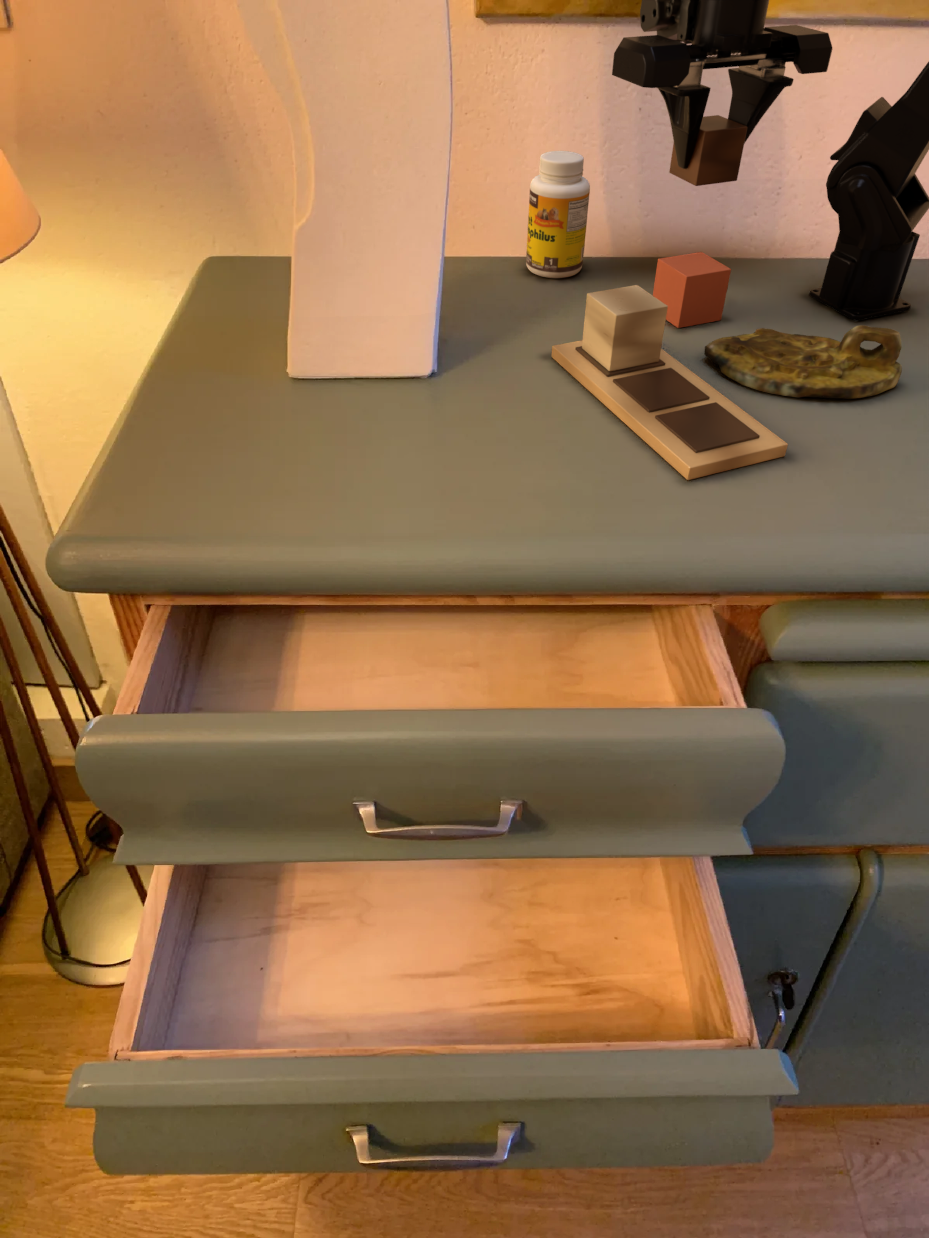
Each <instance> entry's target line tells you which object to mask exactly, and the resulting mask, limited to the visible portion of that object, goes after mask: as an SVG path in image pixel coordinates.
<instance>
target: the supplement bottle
mask: <svg viewBox="0 0 929 1238" xmlns="http://www.w3.org/2000/svg"><path fill="white" fill-rule="evenodd" d="M539 158H540V159H539V167H538V174H537V175H535V176H534V177H533V178H532V179H531V181H530V185H529V196H528V197H529V198H528V199H529V200H528V214H527V234H526V235H527V237H526V254H525V257H526V258H525V264H526V267H527V269H528V270H529V271H530V272H531V273H532V274H533V275H534V274H535V275H537V276H539V277H543V278H549V279H565V278H569V277H573V276H575V275H577V274H578V273H579V272H580V271H581V270H582V268H583V265H584V254H585V246H586V245H585V244H586V236H587V225H588V213H589V203H590V195H591V184H590V182H589V180H588V179H587V177H584V176H583V175H584V159H585V158H584V156H583V155H582V154H580V153H578V152H575V151H569V150H552V151H551V150H550V151H546V152H544V153H542V154H541V155H540V157H539Z"/></svg>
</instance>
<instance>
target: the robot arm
mask: <svg viewBox="0 0 929 1238" xmlns="http://www.w3.org/2000/svg"><path fill="white" fill-rule="evenodd" d="M769 3H770V0H641V5H640V11H639V17H640V19H639V21H640V29H641V30H642V32H643V33H649V32H656V34H652V35H640V36H638V35H637V36H626V37H623V38H622V39H621V41H620V42H619V44H618V45H617V47H616V49H615V50H614V52H613V61H612V69H611V76H613V77H616V78H619V79H621V80H623V81H626V82H628V83H631V84H634V85H636V86H638V87H641V88H646V89H658V91H659V93H660V95H661V97H662V99H663V100H664V103H665V106H666V109H667V114H668V117H669V121H670V127H671V134H672V139H673V144H674V145H675V151H676V157H677V163H678V166H679V167H680V168H683V169H687V168H688V166H689V163H690V160H691V158H692V155H693V152H694V149H695V145H696V141H697V138H698V134H699V130H700V126H701V123H702V119H703V117H704V115H705V111H706V108H707V104H708V100H709V96H710V92H711V87H710V86H707V85H704V84H703V83H702V79H703V78H702V77H703V71H704V70H712V69H713V70H715V69H725V68H728V69H727V73H728V78H729V83H730V87H731V99H730V104H729V110H728V116H727V119H729V120H732V121H734V122H737V123H739V124H742V125H744V126H747V132H746V137H745V142H744V145H745V144H746V142H747V140H748V139H749V137H750V136H751V135H752V133H753V132H754V130H755V128H756V127H757V125H758V124H759V122H760V121H761V120H762V118H763V117H764V116H765V114H766V113H767V112H768V110H769V109H770V107H771V106H772V105H773V104H774V102H775V101H776V100H777V98H778V97H779V95H780V94H781V93H782V92H783V90H784V89H785V88H788V87H791V86H793V83H794V78H792V77H789V76H786V75H785V72H786V68H787V67H786V63H793V65H794V67H795V69H796V72H797V73H798V74H801V75H807V74H808V75H810V74H818V73H819V74H820V73H821V74H822V73H827V72H828V70H829V65H830V61H831V58H832V53H833V44H832V41H831V37H830V34H829V32H826V31H822V30H817V29H814V28H810V27H806V26H802V25H798V24H790V25H776V26H775V25H774V26H765V25H766V20H767V14H768V10H769ZM928 152H929V61H928V62H927V63H926V65H924V67H923V68H922V70H921V71H920V72H919V74H918V75H917V77H916V78H915V79H914V81H912V83H911V85H910V86H909V87H908V88H907V90H906V91H905V93H904V94H903V95H902V96H901V97H899V99H897V101H895V103H894V104H893V105H891V104H890V103H889V102H888V100H887V99H886V98H885V97H884V96H881V97H879V98H878V99H877V100H875V101H874V102H873V103H872V104H870V105H869V106H868V107H867V108H866V109H864V110H863V112H862V113H861V115H860V117H859V118H858V120H857V122H856V124H855V125H854V128H853V129H852V132H851V134H850V135H849V137H848V139H847V140H846V142H845V143H844V144H843V145H841V146H840V147H839V148H838V149H837V150H835V152H834V153H832V154H831V155H830V156H829V159H830V161H836V162H835V164H833V166H832V168H831V170H830V172H829V173H828V176H827V179H826V183H825V187H826V196H827V200H828V202H829V205H830V207H831V209H832V210H833V211H834V212H835V213H836V214H837V217H838V230H839V231H838V234H837V239H836V241H835V246H834V249H833V250H832V251H831V252H830V255H829V259H828V262H827V265H826V269H825V273H824V276H823V280H822V284H821V287H816V288H811V289H809V292H808V295H809V297H811V298H813V299H814V300H816V301H818V302H820V303H822V304H823V305H825V306H827V307H829V308H831V309H833V311H836V312H838V313H839V314H842V315H843V316H845V317H846V318H848V319H850V320H852V321H862V320H863V321H864V320H868V319H873V318H878V317H882V316H888V315H893V314H898V313H904V312H907V311H910V310H911V307H912V304H911V303H910V302H908V301H906V300H904V299H902V298H900V296H901V294H902V290H903V287H904V284H905V282H906V279H907V275H908V272H909V269H910V267H911V263H912V260H913V257H914V254H915V252H916V248H917V246H918V242H919V239H920V236H921V235H920V234H919V233H917V232H915V231H914V230H915V228H916V227H917V225H918V224H919V223H920V221H921V219H923V217H924V216H925V215H926V213H927V212H928V210H929V194H928V193H927V191H926V189H925V188H924V186H923V184H922V183H921V181H920V180H919V178H918V176H917V174H916V173H917V171H918V169H919V168H920V166H921V164H922V162H923V161H924V159H925V157H926V156H927V154H928Z"/></svg>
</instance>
